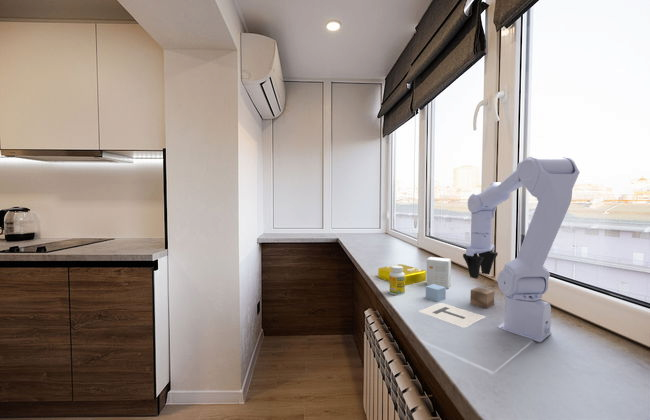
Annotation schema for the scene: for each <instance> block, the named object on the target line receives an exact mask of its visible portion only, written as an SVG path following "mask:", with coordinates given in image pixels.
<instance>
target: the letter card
mask: <svg viewBox="0 0 650 420" xmlns="http://www.w3.org/2000/svg"><path fill="white" fill-rule="evenodd" d="M418 312H419V313H422V314H424V315H428V316H431V317H433V318H436V319H439V320H441V321H444V322H447V323H450V324H453V325H455V326H458V327H461V328H463V329H465V328H468V327H469V326H472V325H473V324H475V323H476V322H478V321H480V320H482V319H485V318H486V315H482V314H479V313H475V312H472V311H470V310H466V309H463V308H459V307H456V306H453V305H450V304H447V303H443V302H442V301H439V302H437V303H434V304H433V305H431V306H427V307H426V308H423V309H420V310H418Z"/></svg>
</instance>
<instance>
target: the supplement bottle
mask: <svg viewBox="0 0 650 420" xmlns="http://www.w3.org/2000/svg"><path fill="white" fill-rule="evenodd" d="M395 265H396V266H393V265H391V266H392V267H391V270H392V272H390V274H389V281H388V282H389V285H388V286H389V289H388V290H389V294H390V295H392V296H398V295H399V296H400V295H404V294H405V291H406V290H405V289H406V285H405V274H404V273H403V272H402V271H403V267H402V266H397V265H398V264H395Z"/></svg>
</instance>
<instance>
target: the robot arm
mask: <svg viewBox="0 0 650 420" xmlns="http://www.w3.org/2000/svg"><path fill="white" fill-rule="evenodd" d="M579 174H580V170H579V168H578V166H577V164H576V163H575V161H574V159H572V158H571V157H566V156H563V157H536V156H535V157H534V156H528V157H525V158H523V159H522V160H521V161H520V162H518V163H517V164H516V169H515V170H514V171H513V172H512V173H511V174H509V176H507V177H506V178H505V179H503V181H501V182H499V181H498V182H496V181H495V182H494V181H493V182H491V183H490V186H488V187H487V188H485V189H484V190H482V191H481V192H480V193H479V194H477V193H472V194H470V196H469V197H468V198H467V208H468V211H469V212H470V213H471V214H470V216H471V217H470V218H471V221H470V223H471V224H470V227H471V228H470V244H468V245H466V249H465V253H463V254H462V257H463V259H464V261H465V264H466V265H467V269H468V273H469V277H470V278H473V279H478V278H479V275H480V270H481V274H483V275H484V274H485V275H487V276H488V275H490V273H491V270H492V266H493V264H494V262H495V259H496V258H497V256H498V252H496V251H495V244H492V235H493V234H492V233H493V229H492V227H493V219H494V217H495V213H496V210H497V208H498V206H499V205H501V204H503V203H504V202H505V201H507V200H509V199H510V197H511V193H512V192H514V191H516V190H519V189H520V188H522V187H525V189H526V190H527V191H528V192H529V194H530V195H531V196H532V197H534V198H536V200H537V203H536V207H535V209H534V212H533V215H532V218H531V220H530V223H529V224H528V229H527V230H526V232H525V236H524V238H523V241H522V244H521V246H520V248H519V251H518V254H517V256H516V258H514V259H512V260H511V261H509V262H507V263H506V264H504V267H503V269H502V270H500V272H499V273H498V276H497V286H498V289H499V290H500V291H501V292H502V294H503V295H504V317H503V319H504V321H503V322H502V323H501V324H500V325H498V326H497V328H498V329H501V330H504V331H506V332H510V333H513V334H516V335H518V336H522V337H525V338H528V339H531V340H532V341H535V342H537V343H542V342H543V341H544V340H545V339H547V337H549V336H550V335H551V334H552V332H551V324H552V322H551V321H552V319H551V318H552V317H551V316H552V306H551V304H550V302H547V301H544V300H542V298H543V295H544V294H546V293H547V291H548V289H549V279H550V276H551V273H550V271H549V270H548V268H546V267H545V266H544V264H545V262H546V260H547V258H548V255H549V253H550V251H551V249H552V246H553V245H554V242H555V239H556V237H557V235H558V233H559V230H560V228H561V225H562V224H563V221H564V219H565V216H566V214H567V212H568V210H569V208H570V205H571V202H572V197H573V189H574V187H575V184H576V182H577V180H578V178H579Z"/></svg>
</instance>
